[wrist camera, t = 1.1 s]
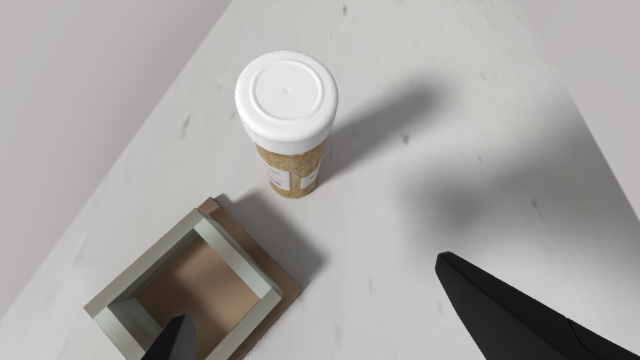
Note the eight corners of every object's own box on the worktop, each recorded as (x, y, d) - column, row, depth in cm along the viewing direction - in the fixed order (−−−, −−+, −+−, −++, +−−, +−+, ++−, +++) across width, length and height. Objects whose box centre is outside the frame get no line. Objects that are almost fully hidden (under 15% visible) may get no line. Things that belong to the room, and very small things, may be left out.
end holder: (301, 288, 21) (302, 297, 18) (196, 407, 19) (171, 446, 15) (213, 198, 23) (196, 189, 19) (103, 297, 20) (59, 308, 16)
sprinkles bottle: (323, 190, 24) (355, 122, 11) (276, 206, 23) (248, 152, 10) (308, 146, 25) (320, 35, 12) (262, 160, 24) (220, 57, 11)
